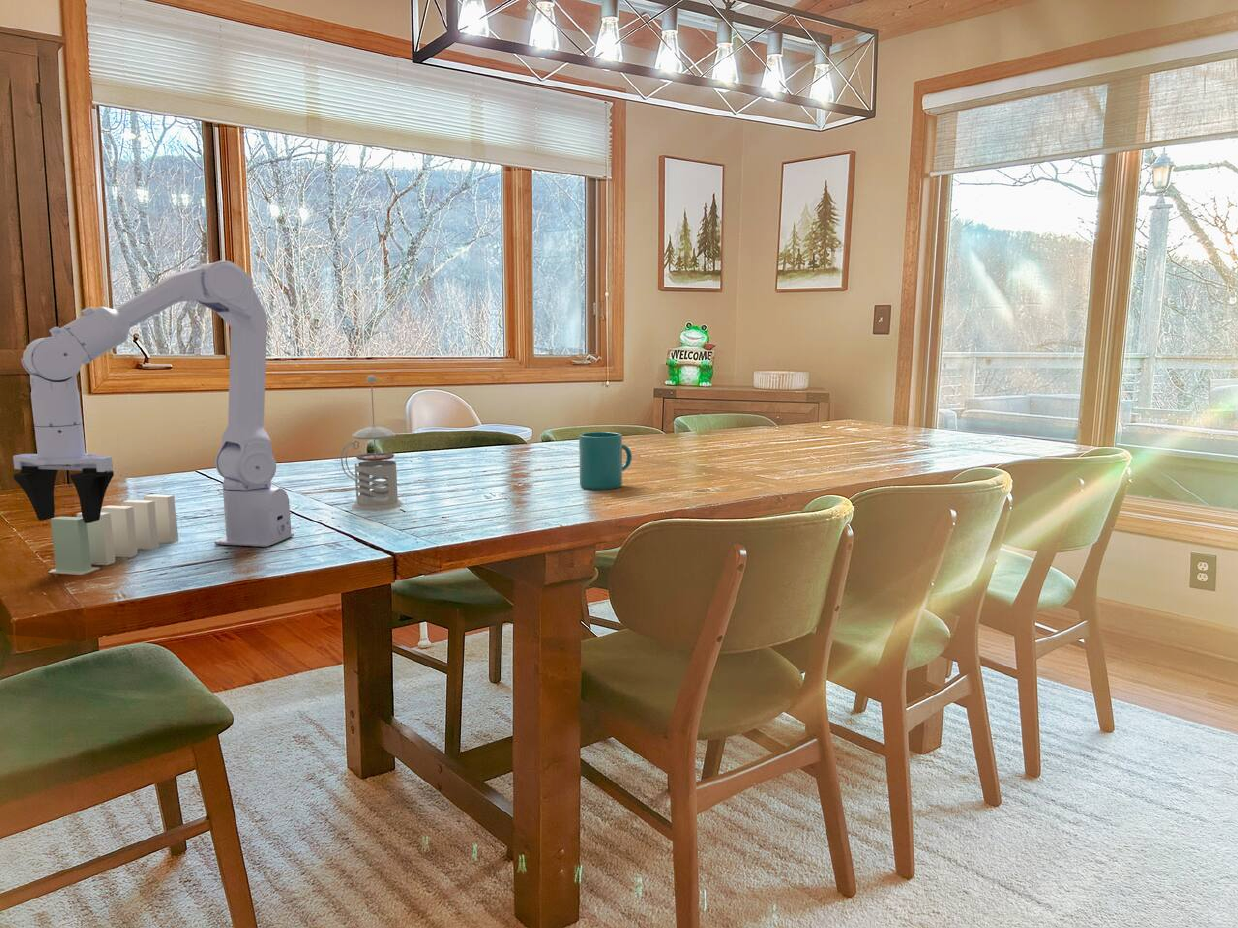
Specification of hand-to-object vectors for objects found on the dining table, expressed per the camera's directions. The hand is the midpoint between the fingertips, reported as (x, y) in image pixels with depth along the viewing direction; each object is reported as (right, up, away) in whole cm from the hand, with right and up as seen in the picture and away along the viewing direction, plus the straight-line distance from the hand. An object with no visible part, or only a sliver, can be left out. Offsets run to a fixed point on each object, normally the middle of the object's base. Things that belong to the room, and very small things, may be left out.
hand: (69, 520), depth 126 cm
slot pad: (0, -7, +1) cm, 7 cm away
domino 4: (+3, -5, +14) cm, 15 cm away
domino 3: (+2, -6, +10) cm, 12 cm away
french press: (+30, 0, +46) cm, 55 cm away
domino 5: (+4, -5, +19) cm, 19 cm away
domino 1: (0, -7, +1) cm, 7 cm away
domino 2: (+1, -7, +5) cm, 9 cm away
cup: (+75, +3, +65) cm, 99 cm away
